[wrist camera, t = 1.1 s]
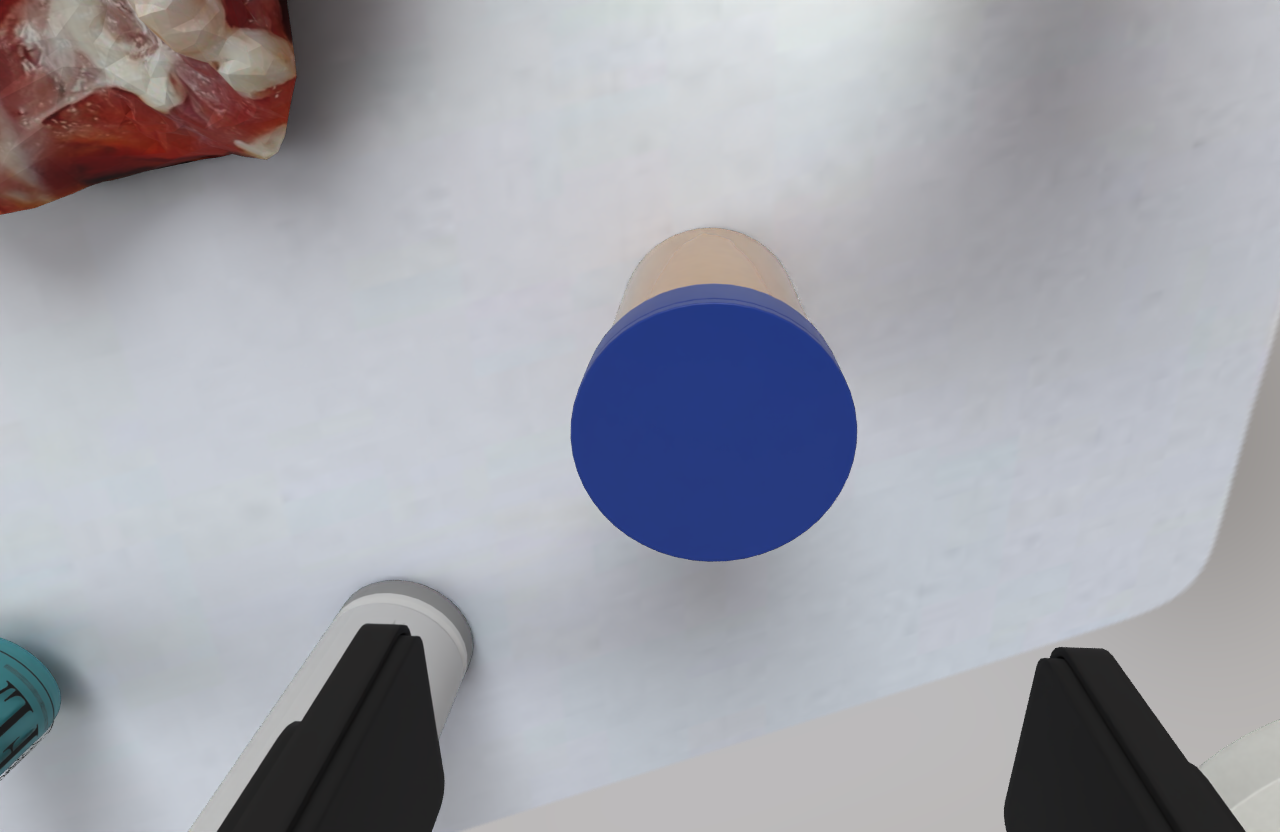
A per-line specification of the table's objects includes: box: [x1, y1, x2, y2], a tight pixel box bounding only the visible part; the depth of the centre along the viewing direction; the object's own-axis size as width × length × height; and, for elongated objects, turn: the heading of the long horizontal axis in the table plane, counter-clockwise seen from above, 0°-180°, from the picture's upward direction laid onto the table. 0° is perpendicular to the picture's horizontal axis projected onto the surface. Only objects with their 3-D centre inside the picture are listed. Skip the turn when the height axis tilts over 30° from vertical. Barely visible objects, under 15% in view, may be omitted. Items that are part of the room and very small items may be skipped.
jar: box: [612, 228, 808, 327], centre depth 24 cm, size 6×6×11 cm
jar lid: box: [571, 283, 857, 562], centre depth 20 cm, size 7×7×2 cm
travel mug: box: [188, 580, 473, 832], centre depth 27 cm, size 6×7×20 cm
